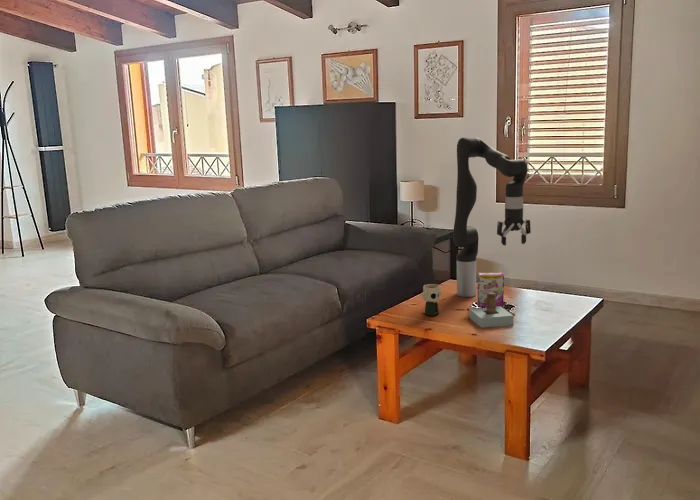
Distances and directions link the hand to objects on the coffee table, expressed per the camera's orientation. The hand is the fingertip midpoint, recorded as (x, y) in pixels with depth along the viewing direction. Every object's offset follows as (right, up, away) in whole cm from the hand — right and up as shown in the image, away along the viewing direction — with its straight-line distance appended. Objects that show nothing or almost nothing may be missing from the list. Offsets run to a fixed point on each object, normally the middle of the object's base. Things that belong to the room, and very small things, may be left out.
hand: (513, 244), depth 281 cm
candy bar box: (-8, -29, +11) cm, 32 cm away
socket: (-11, -32, -6) cm, 35 cm away
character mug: (-34, -31, +7) cm, 47 cm away
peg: (-11, -32, -6) cm, 35 cm away
